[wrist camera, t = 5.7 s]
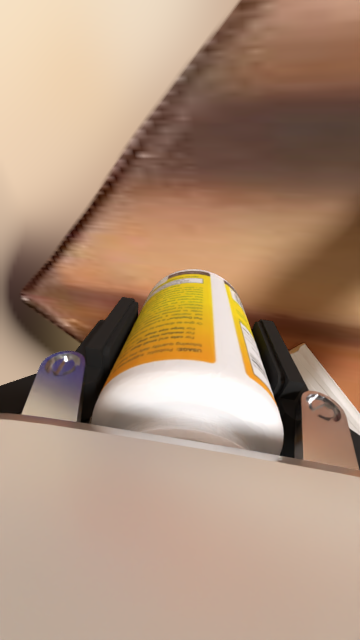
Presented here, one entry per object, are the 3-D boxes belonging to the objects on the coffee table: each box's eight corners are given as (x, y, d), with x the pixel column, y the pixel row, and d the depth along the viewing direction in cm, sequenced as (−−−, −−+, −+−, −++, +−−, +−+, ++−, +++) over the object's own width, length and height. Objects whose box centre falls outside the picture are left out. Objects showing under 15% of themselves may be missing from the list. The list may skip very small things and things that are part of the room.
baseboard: (311, 335, 32) (252, 367, 36) (320, 346, 30) (256, 380, 34) (387, 435, 42) (334, 452, 46) (398, 450, 40) (342, 466, 44)
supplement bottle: (133, 323, 14) (14, 550, 5) (175, 245, 11) (80, 445, 2) (207, 361, 15) (212, 603, 6) (262, 298, 12) (408, 569, 4)
